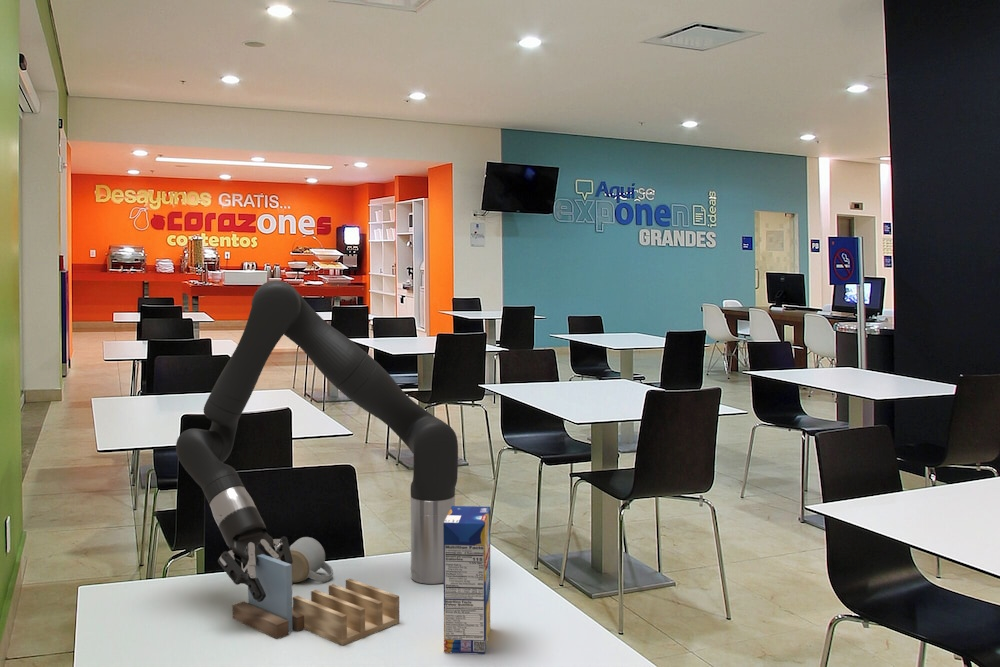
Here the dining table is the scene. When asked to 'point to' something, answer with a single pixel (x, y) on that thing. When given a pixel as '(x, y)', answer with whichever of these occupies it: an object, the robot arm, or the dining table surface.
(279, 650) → the dining table surface
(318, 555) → the ceramic mug
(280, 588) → the pale blue board
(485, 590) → the beverage box
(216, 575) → the dining table surface
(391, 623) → the rack
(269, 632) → the stand
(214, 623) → the dining table surface
